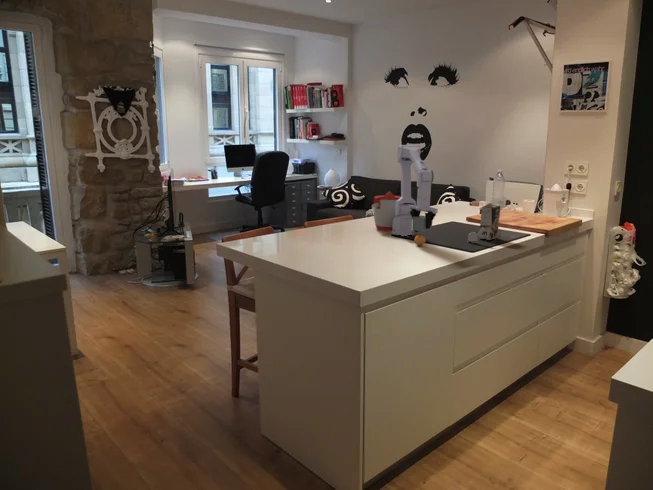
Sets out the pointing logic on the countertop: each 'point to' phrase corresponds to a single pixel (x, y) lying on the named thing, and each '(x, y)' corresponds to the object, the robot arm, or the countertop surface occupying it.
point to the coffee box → (490, 221)
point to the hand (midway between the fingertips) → (421, 227)
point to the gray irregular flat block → (475, 235)
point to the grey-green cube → (420, 224)
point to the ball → (419, 240)
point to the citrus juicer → (385, 211)
